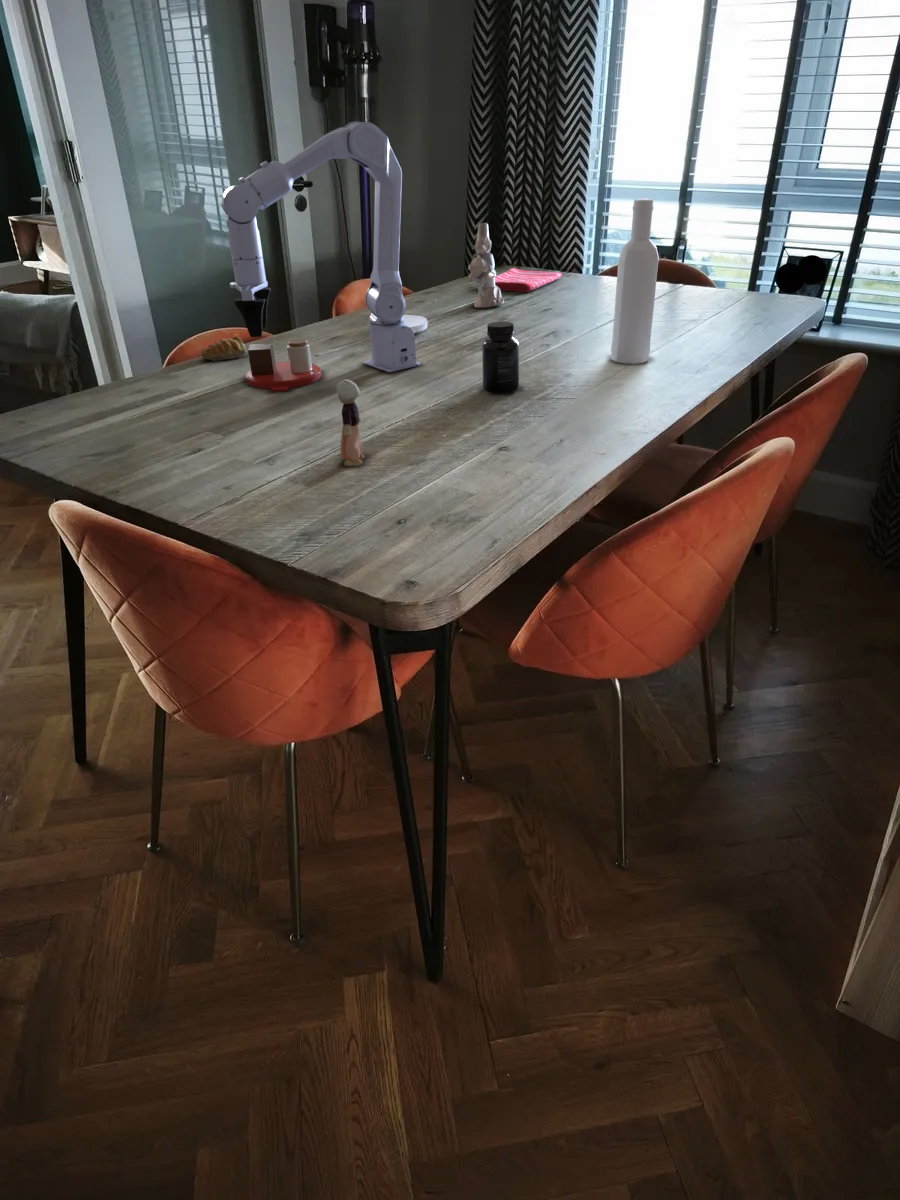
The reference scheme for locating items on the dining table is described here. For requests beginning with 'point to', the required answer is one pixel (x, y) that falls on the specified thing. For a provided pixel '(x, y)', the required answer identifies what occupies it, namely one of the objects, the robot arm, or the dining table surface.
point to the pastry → (225, 349)
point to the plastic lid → (415, 323)
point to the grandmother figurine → (350, 424)
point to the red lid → (283, 378)
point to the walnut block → (262, 359)
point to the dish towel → (524, 279)
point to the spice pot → (299, 356)
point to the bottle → (635, 290)
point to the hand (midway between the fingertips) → (258, 331)
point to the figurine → (484, 271)
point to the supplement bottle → (500, 359)
